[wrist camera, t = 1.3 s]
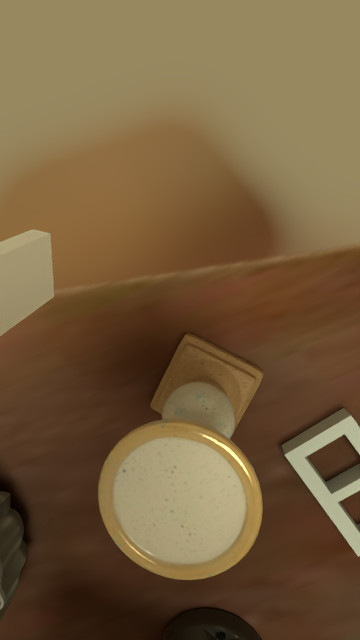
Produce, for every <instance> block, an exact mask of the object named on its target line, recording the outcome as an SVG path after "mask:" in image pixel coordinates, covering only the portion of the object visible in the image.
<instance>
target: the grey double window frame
mask: <svg viewBox="0 0 360 640" xmlns="http://www.w3.org/2000/svg"><path fill="white" fill-rule="evenodd" d="M344 434H345V435H346V437H347V438H348V440H349V441H350V442H351V444H352V445H353V446H354V448H355V449H356V451H357V452H358V453H359V455H360V427H359V426H358V424H357V423H356V422H355V420H354V419H353V418H352V416H351V415H350V414H349V413H348V412H347V411H346V410H345V408H342V409H341V410H339V411H337V412H336V413H334V414H332V415H331V416H329V417H327V418H326V419H324V420H322V421H321V422H319V423H317V424H316V425H314V426H312V427H311V428H309V429H307V430H306V431H304V432H303V433H301V434H299V435H298V436H296V437H294V438H293V439H291V440H289V441H288V442H286V443H284V444H283V445H281V446H282V449H283V452H284V455H285V456H286V458H287V459H288V461H289V462H290V463H291V465H292V466H293V467H294V469H295V470H296V472H297V473H298V474H299V476H300V477H301V478H302V480H303V481H304V483H305V484H306V485H307V487H308V488H309V489H310V491H311V492H312V494H313V495H314V496H315V498H316V499H317V500H318V502H319V503H320V505H321V506H322V507H323V509H324V510H325V511H326V513H327V514H328V516H329V517H330V518H331V520H332V521H333V522H334V524H335V525H336V527H337V528H338V529H339V531H340V532H341V533H342V535H343V536H344V538H345V539H346V540H347V542H348V543H349V544H350V546H351V547H352V549H353V550H354V551H355V553H356V554H357V555H358V556H360V523H359V524H357V525H356V523H355V522H354V520H353V519H352V518H351V516H350V515H349V514H348V512H347V511H346V509H345V508H344V507H343V505H342V504H341V503H340V501H341V500H343V499H345V498H347V497H348V496H350V495H352V494H354V493H356V492H358V491H359V490H360V463H359V464H357V465H355V466H354V467H352V468H350V469H348V470H347V471H345V472H343V473H341V474H340V475H338V476H336V477H334V478H332V479H331V480H329V481H327V482H325V481H324V479H323V478H322V476H321V475H320V474H319V472H318V471H317V470H316V468H315V467H314V465H313V464H312V463H311V461H310V460H309V459H308V457H307V456H308V455H310V454H312V453H313V452H315V451H317V450H318V449H320V448H322V447H323V446H325V445H327V444H329V443H330V442H332V441H334V440H335V439H337V438H339V437H340V436H342V435H344Z"/></svg>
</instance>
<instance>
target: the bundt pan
mask: <svg viewBox="0 0 360 640" xmlns="http://www.w3.org/2000/svg"><path fill="white" fill-rule="evenodd" d="M10 497H11V495H10V493H7V492H3V491H0V620H1V619H2V617H3V615H4V613H5V611H6V609H7V607H8V605H9V603H10V601H11V599H12V597H13V596H14V594H15V592H16V590H17V587H18V585H19V582H20V576H21V570H22V568H23V566H24V564H25V562H26V559H27V555H28V550H27V546H26V544H25V542H24V541H23V540H22V539H23V534H24V526H23V521H22V519H21V517H20V515H19V514H18V512H17V511H15V510H14V509H12V508H10Z"/></svg>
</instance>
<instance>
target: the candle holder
mask: <svg viewBox="0 0 360 640" xmlns="http://www.w3.org/2000/svg"><path fill="white" fill-rule="evenodd" d="M262 378H263V371H262V370H261V369H260V368H259V367H257V366H255V365H253V364H252V363H250V362H248V361H246V360H244V359H242V358H240V357H238V356H236V355H234V354H232V353H230V352H228V351H226V350H224V349H222V348H220V347H218V346H216V345H214V344H212V343H210V342H208V341H206V340H204V339H202V338H200V337H198V336H196V335H194V334H191V333H187V334H186V335H185V336H184V337H183V339H182V341H181V343H180V344H179V346H178V348H177V350H176V352H175V354H174V356H173V358H172V360H171V362H170V364H169V366H168V368H167V370H166V372H165V374H164V376H163V378H162V381H161V383H160V385H159V387H158V389H157V391H156V393H155V395H154V397H153V400H152V402H151V405H150V407H151V408H152V409H153V410H155V411H156V412H158V413H159V414H161V415H162V420H158V421H153V422H150V423H147V424H145V425H142V426H139V427H138V428H136V429H134V430H132V431H131V432H129V433H128V434H127V435H126V436H124V437H123V438H122V439H121V440H120V441H119V442H118V443H117V444H116V445H115V447H114V448H113V449H112V450H111V452H110V453H109V455H108V457H107V458H106V460H105V462H104V465H103V468H102V470H101V473H100V478H99V483H98V503H99V509H100V513H101V516H102V520H103V522H104V524H105V527H106V529H107V531H108V533H109V534H110V536H111V537H112V539H113V541H114V542H115V543H116V544H117V546H118V547H119V548H120V549H121V550H122V552H124V553H125V554H126V555H127V556H128V557H129V558H130V559H131V560H132V561H134V562H135V563H137V564H138V565H140V566H141V567H143V568H145V569H147V570H149V571H151V572H153V573H155V574H158V575H161V576H164V577H168V578H173V579H180V580H195V579H204V578H208V577H211V576H215V575H217V574H220V573H222V572H224V571H226V570H228V569H229V568H231V567H232V566H234V565H235V564H237V563H238V562H239V561H240V560H241V559H242V558H243V557H244V556H245V555H246V554H247V553H248V551H249V550H250V548H251V547H252V546H253V544H254V542H255V540H256V538H257V536H258V533H259V529H260V526H261V522H262V511H263V504H262V493H261V489H260V485H259V481H258V478H257V476H256V474H255V471H254V469H253V467H252V465H251V464H250V462H249V460H248V459H247V457H246V456H245V455H244V453H243V452H242V451H241V450H240V449H239V448H238V447H237V445H236V444H234V443H233V442H232V441H231V440H230V439H231V437H232V434H233V433H234V431H235V429H236V427H237V425H238V423H239V422H240V420H241V418H242V416H243V414H244V412H245V411H246V409H247V407H248V405H249V403H250V401H251V400H252V398H253V396H254V394H255V392H256V390H257V389H258V387H259V385H260V382H261V380H262Z"/></svg>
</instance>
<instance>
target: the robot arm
mask: <svg viewBox="0 0 360 640" xmlns="http://www.w3.org/2000/svg"><path fill="white" fill-rule="evenodd" d="M53 297H54V285H53V270H52V253H51V237H50V233H46V232H42V231H38V230H33V229H32V230H30V231H27V232H25V233H22V234H19V235H17V236H14V237H12V238H9V239H7V240H4V241H2V242H0V336H1V335H2V334H4V333H5V332H6V331H8V330H9V329H11V328H12V327H13V326H15V325H16V324H17V323H19V322H20V321H21V320H23V319H24V318H26V317H27V316H28V315H30V314H31V313H32V312H34V311H35V310H36V309H38V308H39V307H41V306H42V305H43V304H45V303H46V302H47V301H49V300H50V299H52V298H53ZM162 640H261V639H260V637H259V636H258V635H257V633H256V632H255V631H254V630H253V629H252V628H251V627H250V626H249V625H248V624H247V623H245V622H244V621H243V620H241V619H240V618H238V617H236V616H234V615H232V614H230V613H227V612H225V611H221V610H217V609H208V608H203V609H195V610H191V611H188V612H185V613H183V614H181V615H179V616H178V617H176V618H175V619H174V620H173V621H172V622H171V623H170V624H169V625H168V627H167V628H166V630H165V632H164V634H163V637H162Z"/></svg>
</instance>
